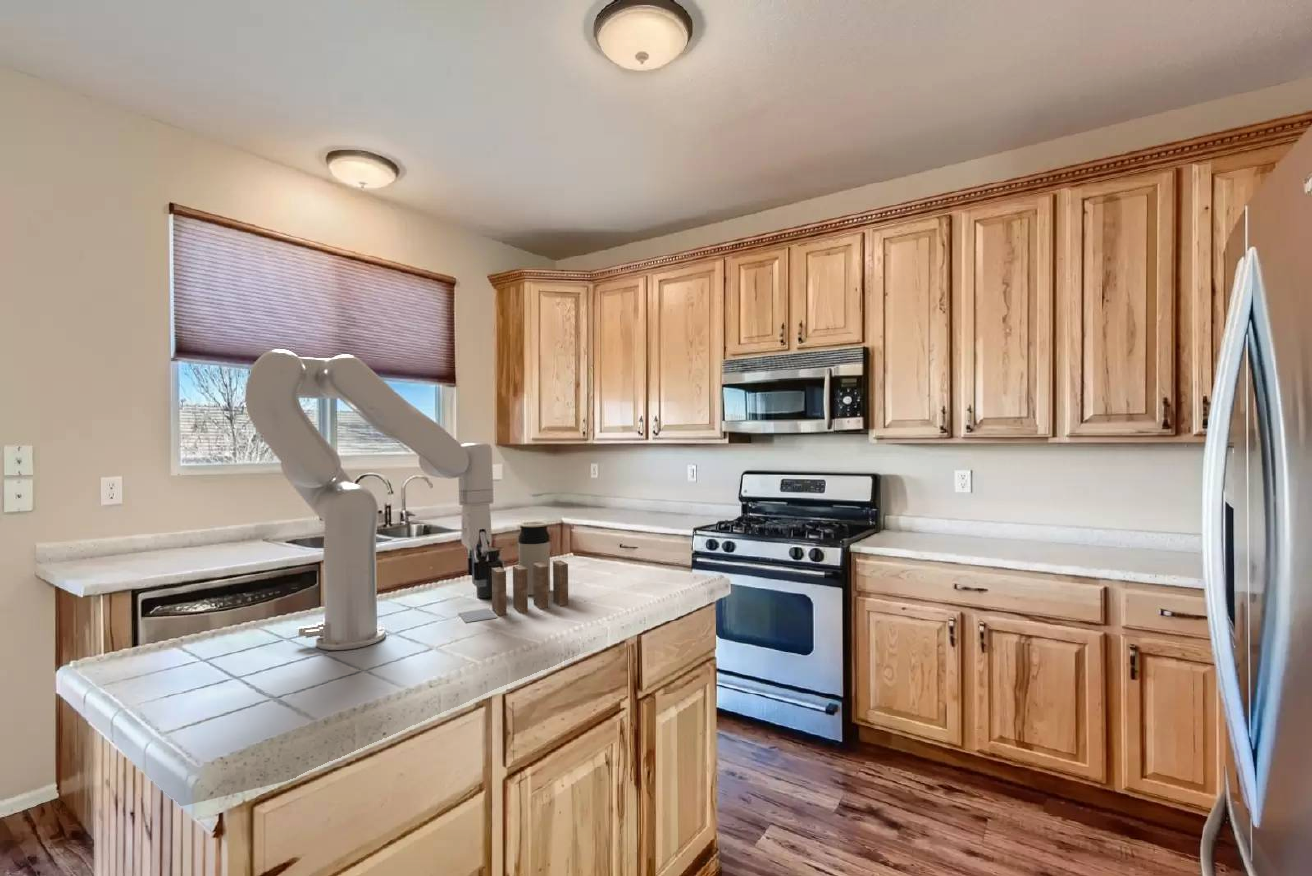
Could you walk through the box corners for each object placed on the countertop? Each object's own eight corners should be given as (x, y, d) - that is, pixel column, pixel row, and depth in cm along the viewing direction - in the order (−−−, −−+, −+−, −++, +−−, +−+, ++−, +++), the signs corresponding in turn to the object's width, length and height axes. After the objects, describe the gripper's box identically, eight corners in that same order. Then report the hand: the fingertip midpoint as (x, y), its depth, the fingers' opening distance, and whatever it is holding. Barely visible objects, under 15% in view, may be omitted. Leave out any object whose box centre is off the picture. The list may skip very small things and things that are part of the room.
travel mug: (542, 596, 159) (541, 525, 158) (513, 595, 160) (512, 525, 160) (554, 589, 166) (554, 521, 166) (527, 587, 168) (526, 520, 168)
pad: (465, 622, 137) (465, 622, 137) (458, 613, 144) (458, 612, 144) (497, 618, 141) (497, 617, 141) (488, 609, 148) (488, 608, 148)
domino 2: (497, 616, 142) (497, 572, 142) (492, 610, 147) (491, 568, 147) (506, 614, 143) (506, 571, 143) (500, 609, 148) (500, 567, 147)
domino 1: (477, 587, 140) (476, 543, 140) (472, 582, 144) (471, 539, 144) (486, 586, 141) (485, 542, 141) (481, 581, 145) (479, 538, 145)
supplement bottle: (471, 598, 158) (470, 551, 157) (486, 591, 164) (485, 546, 164) (495, 600, 156) (494, 552, 155) (509, 593, 162) (508, 547, 162)
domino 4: (540, 609, 147) (539, 567, 147) (533, 604, 151) (533, 563, 151) (548, 608, 148) (547, 566, 148) (541, 603, 152) (541, 562, 152)
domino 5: (560, 606, 150) (560, 564, 149) (553, 601, 154) (552, 561, 154) (568, 605, 150) (567, 563, 150) (561, 600, 155) (560, 560, 155)
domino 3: (519, 612, 145) (518, 569, 145) (513, 607, 149) (512, 565, 149) (527, 611, 146) (527, 568, 146) (521, 606, 150) (520, 564, 150)
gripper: (451, 495, 148) (454, 572, 148) (467, 502, 133) (470, 587, 133) (483, 493, 152) (486, 567, 152) (502, 499, 137) (505, 582, 137)
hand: (478, 576), depth 143 cm, fingers closed on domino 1, 4 cm apart
